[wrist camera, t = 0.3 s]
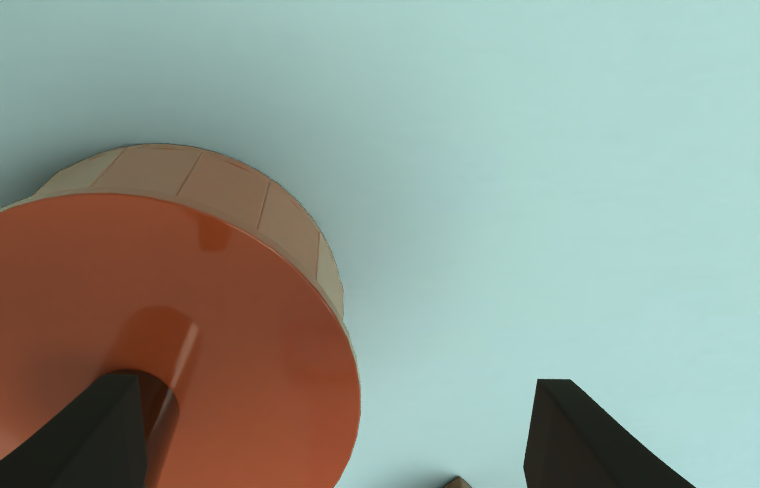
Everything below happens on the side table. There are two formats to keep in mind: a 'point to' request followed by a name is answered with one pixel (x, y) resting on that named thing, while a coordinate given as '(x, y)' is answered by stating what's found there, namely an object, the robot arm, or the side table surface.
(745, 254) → the side table surface
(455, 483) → the block
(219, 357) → the lid
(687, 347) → the side table surface
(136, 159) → the cup
